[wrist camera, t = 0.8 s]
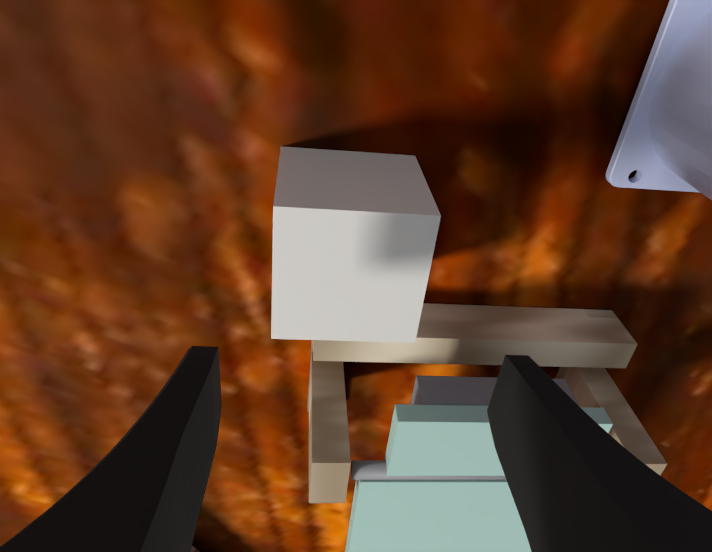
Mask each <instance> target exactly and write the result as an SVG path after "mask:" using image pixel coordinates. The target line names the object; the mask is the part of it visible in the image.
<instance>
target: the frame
mask: <svg viewBox="0 0 712 552" xmlns="http://www.w3.org/2000/svg"><path fill="white" fill-rule="evenodd" d="M637 345H638V344H637V343H636V341H635V340H634V339H633V337H632V336H631V335H630V333H629V332H628V331H627V329H626V328H625V327H624V325H623V324H622V323H621V322H620V320H619V319H618V318H617V316H616V315H615V314H614V312H613V311H612V310H592V309H565V308H538V307H511V306H483V305H456V304H429V303H423V307H422V312H421V317H420V322H419V326H418V331H417V336H416V341H415V343H398V342H365V341H331V340H312V345H311V360H310V375H309V390H308V412H309V503H345V499H346V492H347V485H348V478H349V471H350V464H351V461H350V448H349V434H348V421H347V407H346V394H345V380H344V366H343V361H344V362H385V363H427V364H468V365H502V363H503V360H504V357H505V355H528V356H529V357H530V358H531V359H532V360H533V361H534V362H536V363H537V364H538V365H539V366H551V367H560V368H559V370H558V373H557V375H556V378H555V379H565V380H566V382H567V384H568V386H569V388H570V390H571V391H572V393H573V395H574V397H575V399H576V401H577V402H578V404H579V407H594V408H604V410H605V411H606V413H607V415H608V416H609V418H610V420H611V421H612V423H613V425H612V427H611V429H610V431H609V433H608V434H610V435H611V436H612V437H613V438H614V439H615V440H616V441H618V442H619V443H620V444H621V445H622V446H623V447H624V448H626V449H627V450H628V451H629V452H630V453H632V454H633V455H634V456H635V457H637V458H638V459H639V460H640V461H642V462H643V463H644V464H646V465H647V466H648V467H649V468H651V469H652V470H653V471H655V472H656V473H657V474H659V475H661V473H662V472H663V470H664V469H665V467H666V465H667V463H666V461H665V460H664V458H663V457H662V455H661V454H660V452H659V450H658V449H657V447H656V446H655V444H654V443H653V441H652V440H651V438H650V437H649V435H648V434H647V432H646V430H645V429H644V427H643V426H642V424H641V423H640V421H639V420H638V418H637V417H636V415H635V414H634V412H633V410H632V409H631V407H630V406H629V404H628V403H627V401H626V400H625V398H624V397H623V395H622V393H621V392H620V390H619V389H618V387H617V386H616V384H615V383H614V381H613V380H612V378H611V377H610V375H609V373H608V372H607V370H606V369H605V368H626V367H627V365H628V363H629V361H630V359H631V357H632V355H633V353H634V351H635V349H636V347H637Z"/></svg>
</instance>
